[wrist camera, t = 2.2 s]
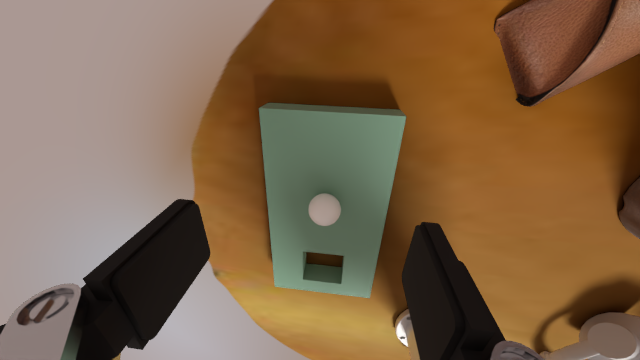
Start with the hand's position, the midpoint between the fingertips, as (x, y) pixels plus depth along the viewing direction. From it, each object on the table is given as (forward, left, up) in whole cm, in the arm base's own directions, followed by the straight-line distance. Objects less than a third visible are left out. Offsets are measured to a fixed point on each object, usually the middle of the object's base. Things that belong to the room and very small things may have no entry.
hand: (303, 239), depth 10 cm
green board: (-11, 0, -18) cm, 21 cm away
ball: (-8, 0, -14) cm, 16 cm away
